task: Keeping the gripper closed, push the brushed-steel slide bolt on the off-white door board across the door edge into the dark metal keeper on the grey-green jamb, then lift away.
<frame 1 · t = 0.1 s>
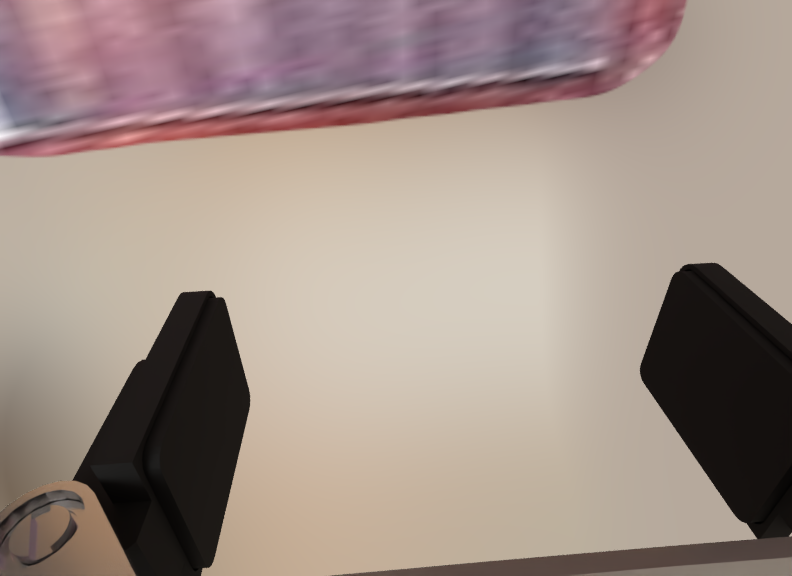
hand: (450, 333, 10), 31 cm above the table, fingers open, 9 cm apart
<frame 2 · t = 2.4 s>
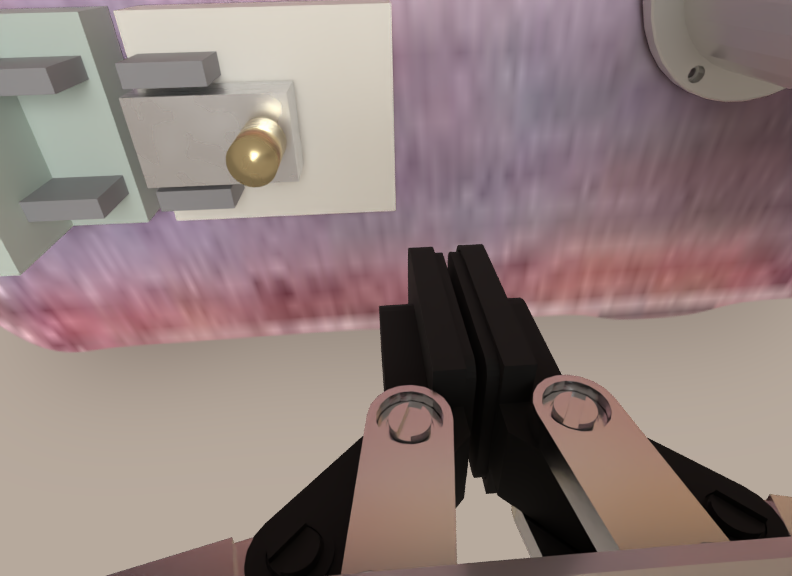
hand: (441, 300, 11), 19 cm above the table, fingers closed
door board: (224, 110, 26), on the table
door jamb: (54, 137, 23), on the table
bolt: (212, 144, 21), point 6 cm above the table, slide at 0.0 cm
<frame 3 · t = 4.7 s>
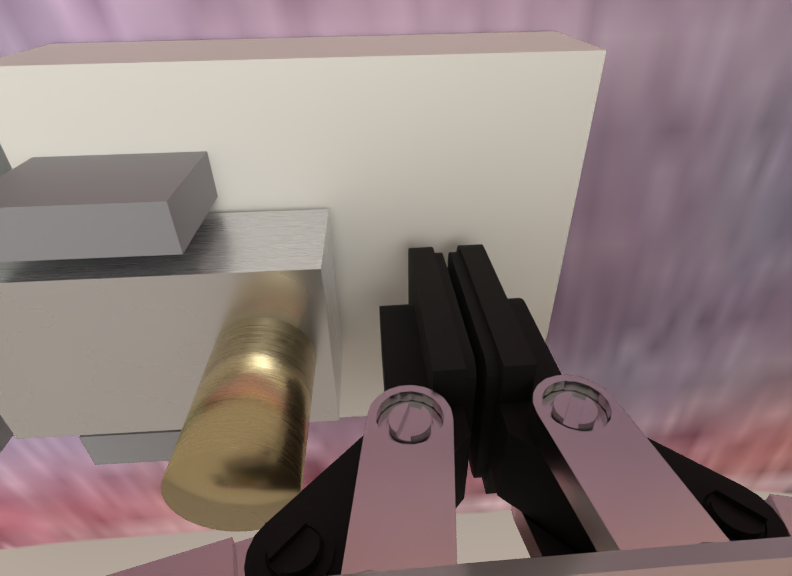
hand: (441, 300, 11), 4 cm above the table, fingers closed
door board: (225, 229, 14), on the table
bolt: (148, 371, 9), point 6 cm above the table, slide at 0.9 cm, touching gripper
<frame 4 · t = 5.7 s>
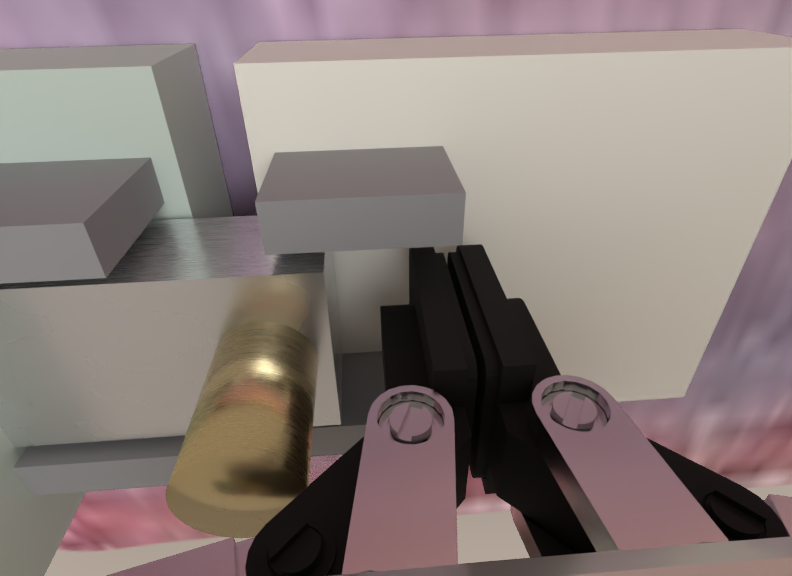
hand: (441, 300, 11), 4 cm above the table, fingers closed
door board: (389, 225, 14), on the table
door jamb: (87, 321, 11), on the table
bolt: (149, 377, 9), point 6 cm above the table, slide at 5.8 cm, touching door jamb, gripper
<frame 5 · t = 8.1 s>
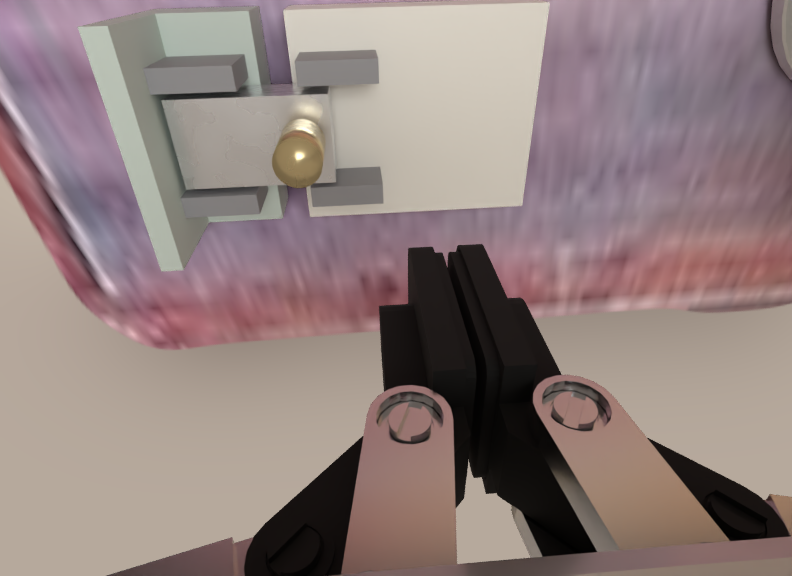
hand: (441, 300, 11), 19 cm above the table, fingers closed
door board: (357, 108, 27), on the table
door jamb: (211, 134, 23), on the table
bolt: (253, 145, 22), point 6 cm above the table, slide at 5.5 cm
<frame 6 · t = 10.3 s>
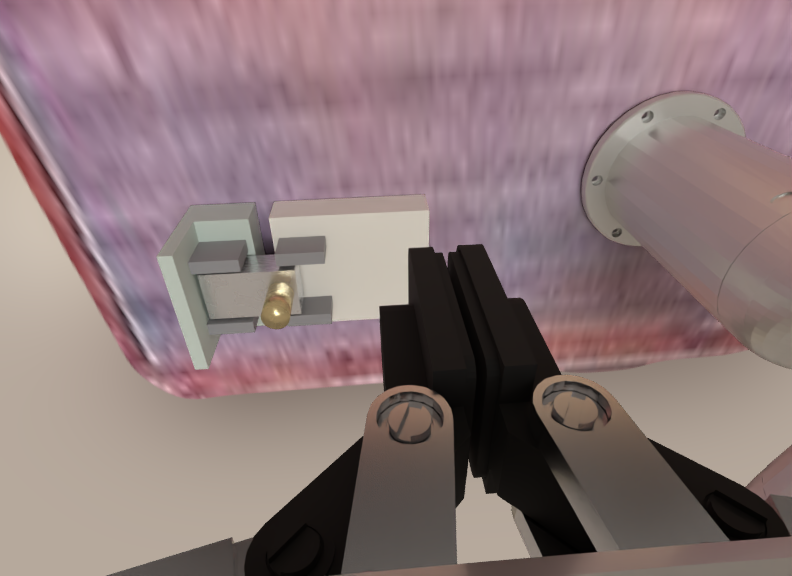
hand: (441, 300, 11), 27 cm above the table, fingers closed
door board: (319, 254, 41), on the table
door jamb: (225, 284, 38), on the table
bolt: (250, 297, 36), point 6 cm above the table, slide at 5.5 cm
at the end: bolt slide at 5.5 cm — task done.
